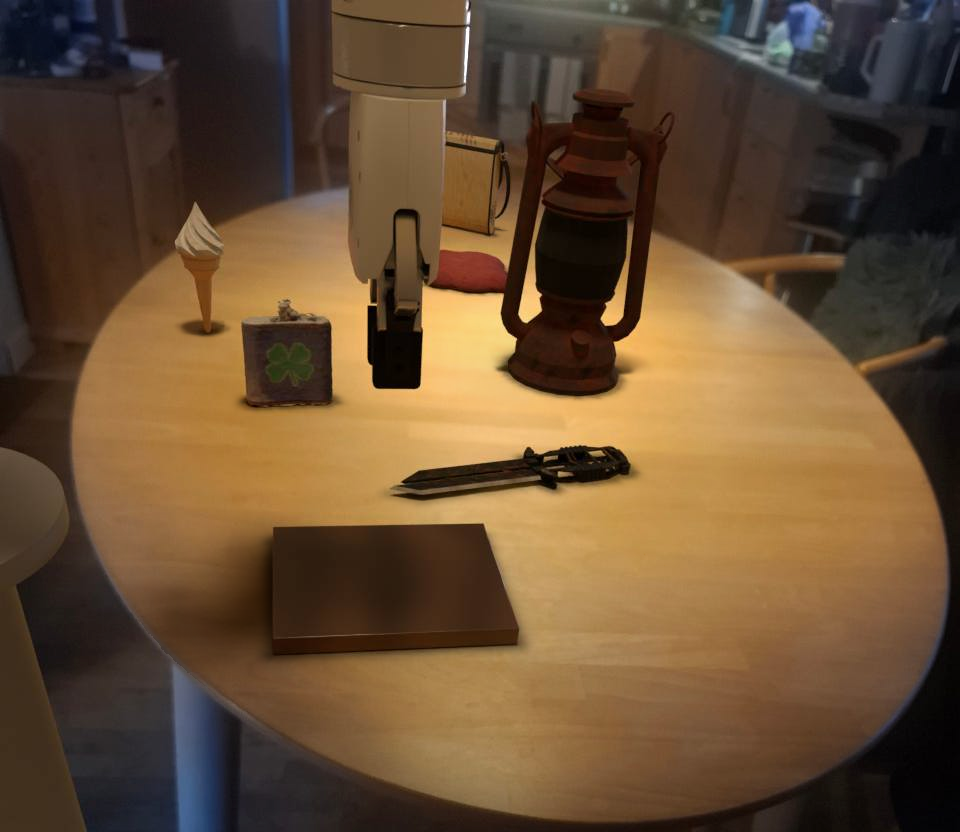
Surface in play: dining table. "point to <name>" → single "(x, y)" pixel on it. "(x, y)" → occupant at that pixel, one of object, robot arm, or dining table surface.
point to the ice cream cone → (200, 257)
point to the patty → (470, 272)
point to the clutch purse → (473, 181)
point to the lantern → (581, 243)
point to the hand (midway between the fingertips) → (393, 373)
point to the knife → (520, 470)
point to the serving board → (387, 588)
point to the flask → (287, 358)
